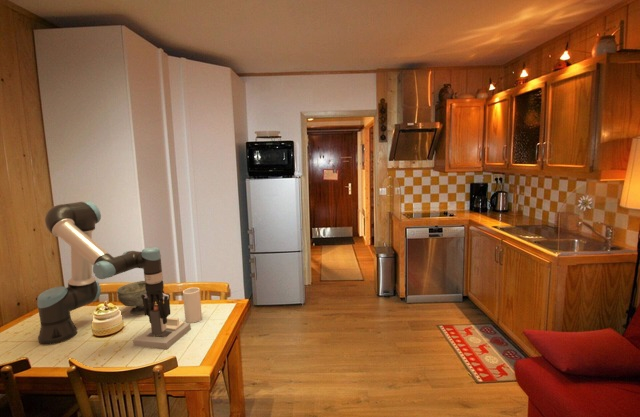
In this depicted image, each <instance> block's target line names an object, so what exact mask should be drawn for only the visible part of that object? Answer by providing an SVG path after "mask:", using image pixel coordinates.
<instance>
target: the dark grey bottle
mask: <svg viewBox="0 0 640 417" xmlns="http://www.w3.org/2000/svg"><path fill="white" fill-rule="evenodd" d="M160 318H161V313H160V310H159V307H158V304H155V305H154V309H153V310H151V311H150V319H151V323H150V326H151V327H150V328H151V329H152V334H156V335H161V334H162V333H164V332H165V331H166V330H164V331H163V332H162V331H161V321H160Z"/></svg>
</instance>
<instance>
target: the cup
mask: <svg viewBox="0 0 640 417" xmlns="http://www.w3.org/2000/svg"><path fill="white" fill-rule="evenodd" d="M182 297H183V309H184V322H185V323H190V324H195V323H198V322H200V321H202V319H203V314H202V302H201V301H202V300H201V291H200V288H199V287H188V288H186V289H183V291H182ZM194 322H195V323H194Z"/></svg>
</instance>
